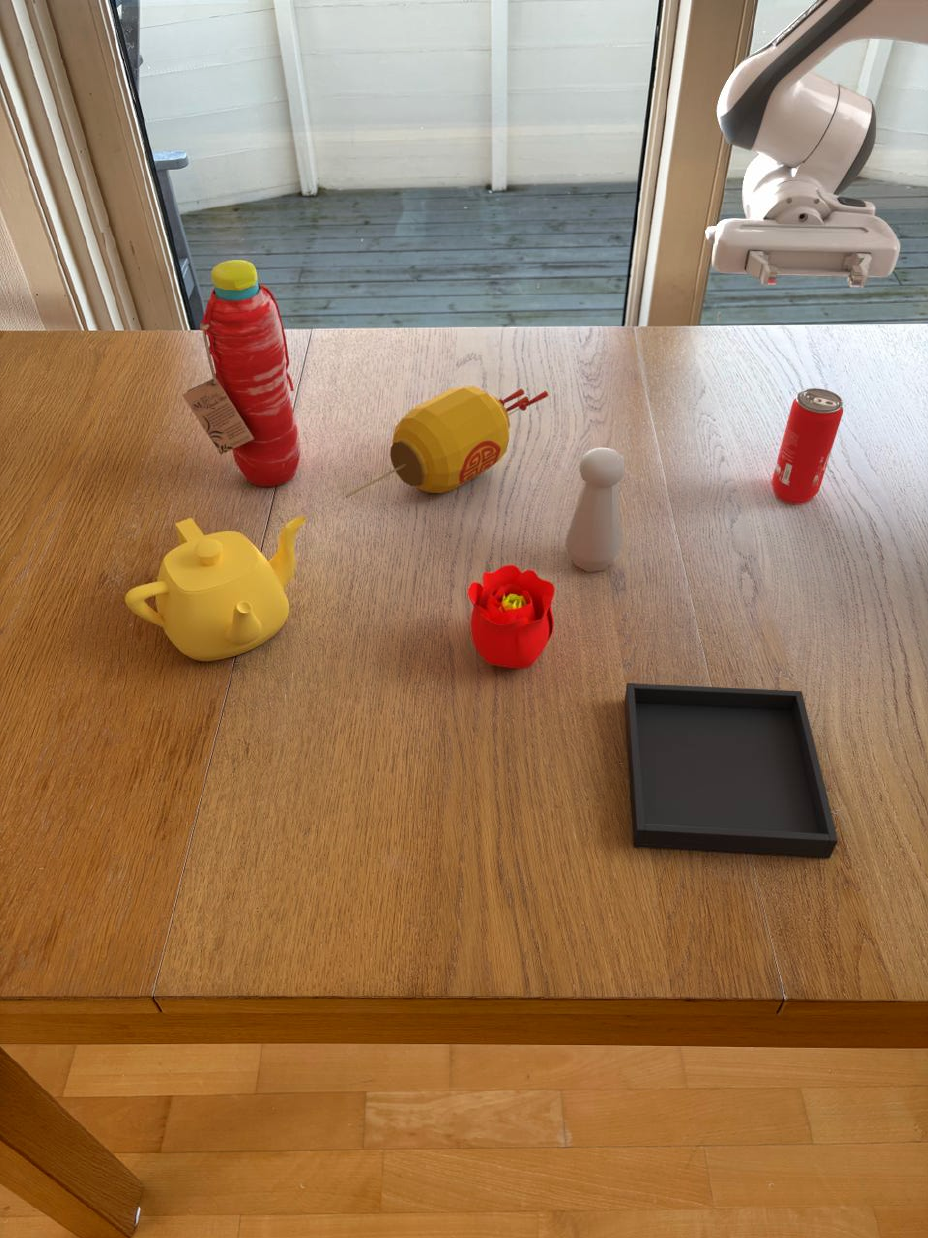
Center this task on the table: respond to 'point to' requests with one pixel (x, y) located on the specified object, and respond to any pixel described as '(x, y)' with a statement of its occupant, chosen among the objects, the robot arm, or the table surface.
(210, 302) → the water bottle
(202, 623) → the teapot
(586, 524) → the salt shaker
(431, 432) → the lantern
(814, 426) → the beverage can
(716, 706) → the tray
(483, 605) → the flower
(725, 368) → the table surface
